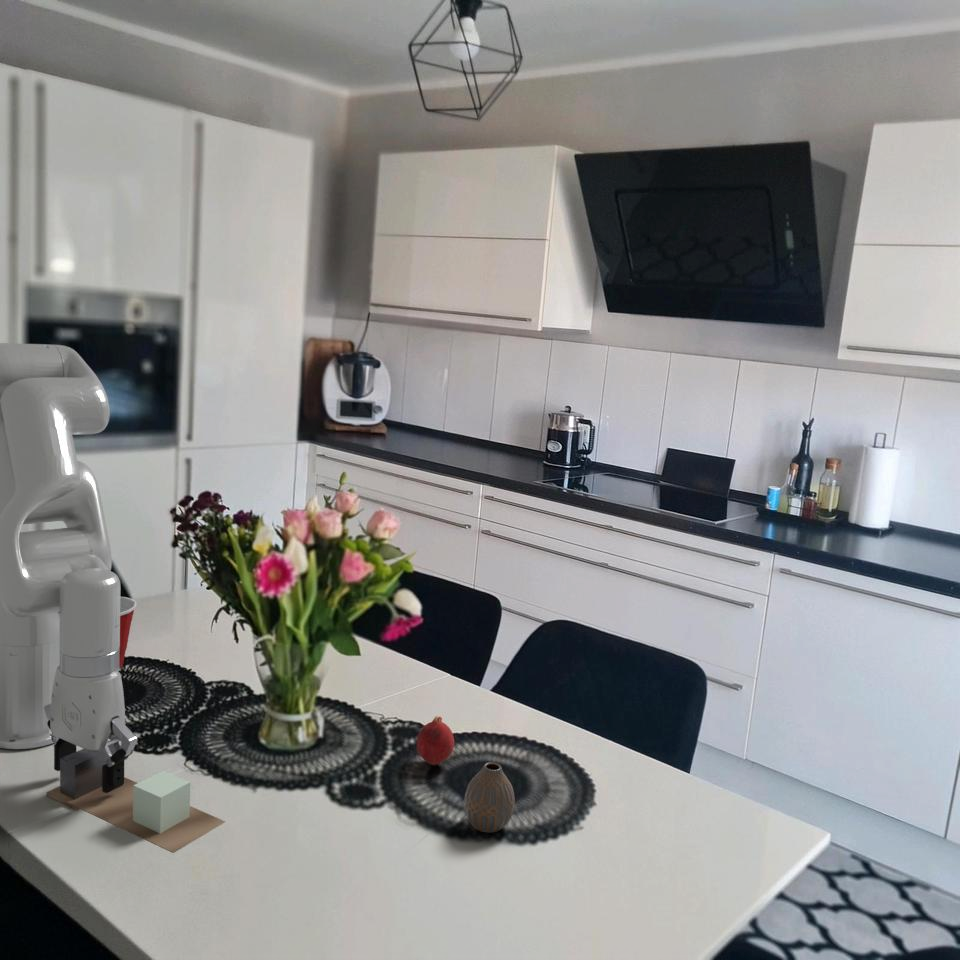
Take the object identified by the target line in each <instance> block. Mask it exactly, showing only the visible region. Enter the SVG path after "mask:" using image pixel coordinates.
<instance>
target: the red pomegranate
mask: <svg viewBox="0 0 960 960" xmlns="http://www.w3.org/2000/svg"><path fill="white" fill-rule="evenodd" d="M442 720H443V717H442V716H441V715H435V716H434V718H433V720H432V721H431V722H428V723H426V724H425V725H424V726H423V727H422V728H421V729H420V731H419V732H418V734H417V737H416V750H417V752H418V755H419V756H420V757H421V758H422V759H423V761H424V762H426V763H428V764H429V765H431V766H437V765H438V764H441V763H442V762H444V761H446V760H447V759H448V758H449V757H450V756H451V754H452V753H453V751H454V747H455V738H454V734H453V731H452V730H451V728H450V727H449V726H448V724H446V723H444V722H443V721H442Z"/></svg>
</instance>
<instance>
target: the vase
mask: <svg viewBox="0 0 960 960" xmlns="http://www.w3.org/2000/svg"><path fill="white" fill-rule="evenodd" d="M463 802H464V804H463V805H464V812H465V815H466V818H467V820H468V822H469V823H470V824H471V826H472V827H473V828H474V829H475V830H477V831H479V832H482V833H496V832H499V831H500V830H501V829H503V828H505V827H506V825H508V824H509V822H510V820H511V818H512V816H513V813H514V810H515V809H514V808H515V804H516V803H515V802H516V800H515V793H514V788H513V785H512V783H511V782H510V780H509V779H508V777H507V776H506V775H505V773H504V771H503V769H502V766H501V765H500V764H499V763H498V762H497V763H496V762H486V763H485V764H484V765H483V766H482V768H481V769H480V770H479V771H478V772H477V773H476V774H475V776H474V777H472V779H471V780H470V781H469V783H468V785H467V787H466V789H465V794H464V801H463Z"/></svg>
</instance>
